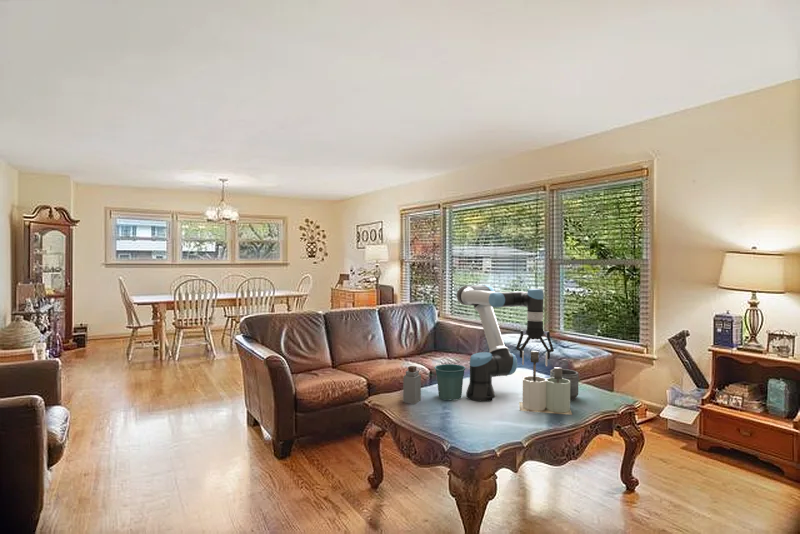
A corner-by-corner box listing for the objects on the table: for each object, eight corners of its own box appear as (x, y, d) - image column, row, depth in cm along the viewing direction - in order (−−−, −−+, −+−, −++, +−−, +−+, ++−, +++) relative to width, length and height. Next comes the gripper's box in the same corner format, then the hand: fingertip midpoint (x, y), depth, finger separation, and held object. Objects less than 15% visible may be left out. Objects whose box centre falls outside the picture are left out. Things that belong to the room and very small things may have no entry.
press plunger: (525, 384, 228) (526, 352, 228) (525, 380, 237) (525, 349, 236) (543, 385, 226) (544, 353, 226) (542, 381, 235) (543, 350, 234)
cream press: (522, 409, 228) (523, 381, 227) (522, 401, 242) (522, 374, 241) (546, 411, 225) (546, 382, 225) (544, 402, 239) (544, 375, 239)
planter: (580, 404, 240) (580, 375, 240) (551, 403, 243) (551, 374, 243) (575, 396, 254) (576, 369, 254) (548, 395, 257) (548, 367, 257)
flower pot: (436, 402, 243) (436, 371, 243) (432, 393, 259) (433, 363, 259) (467, 402, 244) (468, 371, 243) (462, 392, 260) (462, 363, 260)
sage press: (546, 411, 225) (547, 370, 225) (544, 402, 239) (545, 363, 239) (570, 413, 223) (571, 371, 222) (567, 404, 236) (568, 364, 236)
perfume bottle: (403, 402, 243) (403, 367, 242) (409, 398, 249) (409, 364, 248) (415, 404, 240) (415, 368, 239) (420, 400, 246) (421, 366, 245)
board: (519, 413, 227) (519, 410, 227) (519, 404, 240) (519, 402, 240) (572, 417, 221) (572, 414, 221) (568, 408, 235) (568, 405, 235)
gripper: (511, 320, 230) (510, 365, 230) (560, 322, 225) (559, 368, 225) (511, 318, 237) (510, 362, 238) (558, 320, 232) (558, 364, 232)
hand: (534, 365), depth 231 cm, fingers open, 10 cm apart
